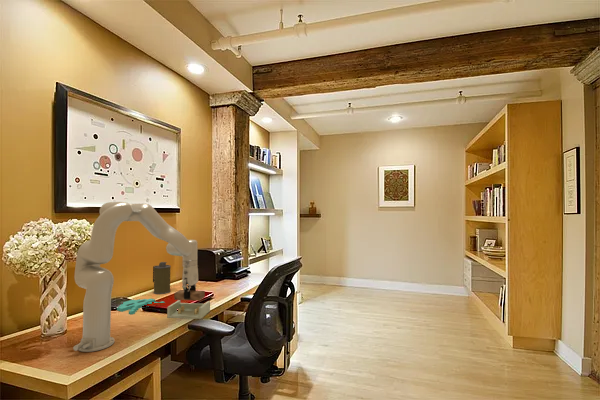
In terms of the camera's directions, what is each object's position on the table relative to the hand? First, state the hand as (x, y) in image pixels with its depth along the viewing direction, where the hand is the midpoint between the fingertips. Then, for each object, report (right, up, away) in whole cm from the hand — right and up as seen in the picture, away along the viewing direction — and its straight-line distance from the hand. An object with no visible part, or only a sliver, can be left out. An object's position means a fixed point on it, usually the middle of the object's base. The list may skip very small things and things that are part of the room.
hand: (189, 296), depth 166 cm
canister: (-35, -11, +44) cm, 57 cm away
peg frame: (0, -9, -1) cm, 9 cm away
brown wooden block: (0, -1, 0) cm, 1 cm away
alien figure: (-34, -10, +12) cm, 38 cm away
